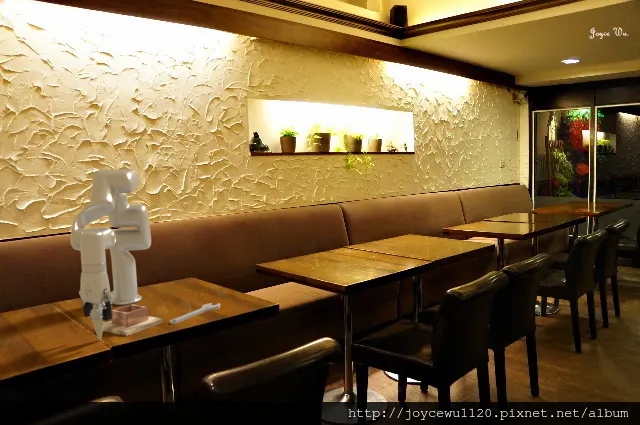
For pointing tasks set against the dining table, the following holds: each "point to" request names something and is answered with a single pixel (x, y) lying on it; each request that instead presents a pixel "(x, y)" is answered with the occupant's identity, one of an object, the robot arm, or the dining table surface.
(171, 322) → the adjustable wrench
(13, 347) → the dining table surface
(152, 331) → the dining table surface
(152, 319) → the cone stand
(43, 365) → the dining table surface
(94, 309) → the ice cream cone
